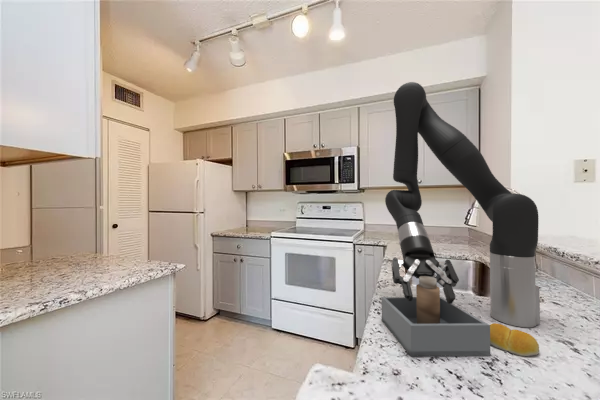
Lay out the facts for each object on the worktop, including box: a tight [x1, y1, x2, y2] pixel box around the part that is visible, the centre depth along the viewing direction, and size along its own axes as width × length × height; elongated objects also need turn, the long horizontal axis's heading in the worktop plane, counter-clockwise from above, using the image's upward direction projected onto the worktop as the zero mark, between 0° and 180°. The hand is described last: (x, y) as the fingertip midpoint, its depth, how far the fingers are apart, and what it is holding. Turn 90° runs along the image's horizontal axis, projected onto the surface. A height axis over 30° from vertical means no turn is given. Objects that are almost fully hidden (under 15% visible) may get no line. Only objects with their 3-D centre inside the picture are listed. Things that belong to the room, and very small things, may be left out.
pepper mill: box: [415, 276, 441, 324], centre depth 58 cm, size 5×5×12 cm
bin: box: [381, 296, 491, 358], centre depth 58 cm, size 16×16×6 cm
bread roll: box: [489, 322, 540, 357], centre depth 54 cm, size 8×9×4 cm
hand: (430, 300), depth 57 cm, fingers open, 8 cm apart
